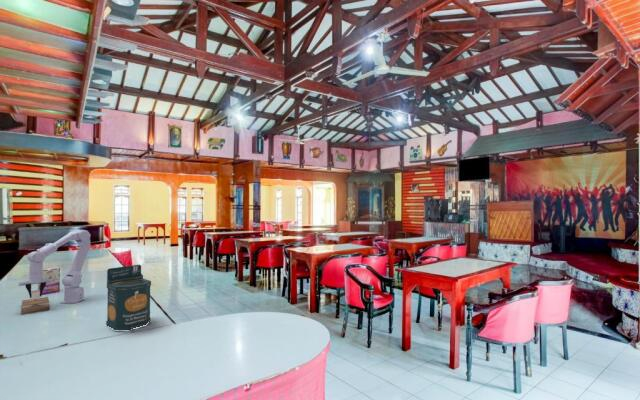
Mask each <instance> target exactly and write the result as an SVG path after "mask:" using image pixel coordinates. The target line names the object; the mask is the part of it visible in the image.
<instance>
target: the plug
mask: <svg viewBox="0 0 640 400" xmlns="http://www.w3.org/2000/svg"><path fill="white" fill-rule="evenodd" d="M40 298H41V297H40V290H38V289H36V290H31V298H30V299H31V300H32V303H34V302H35V301H37V302H39V299H40Z"/></svg>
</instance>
